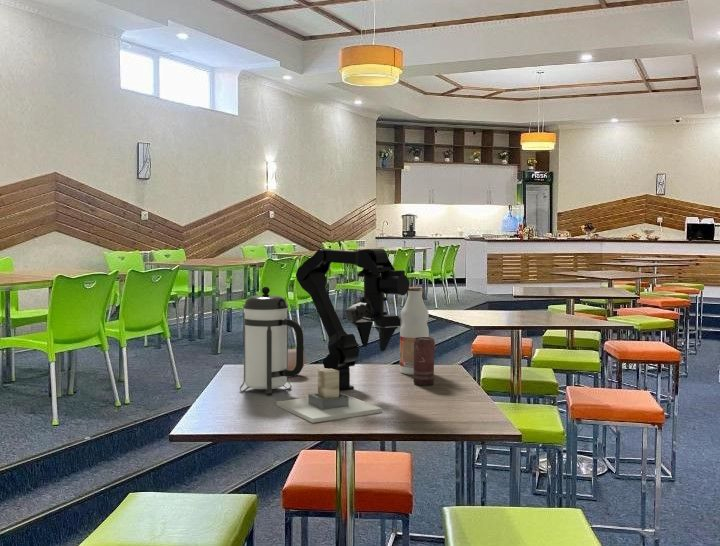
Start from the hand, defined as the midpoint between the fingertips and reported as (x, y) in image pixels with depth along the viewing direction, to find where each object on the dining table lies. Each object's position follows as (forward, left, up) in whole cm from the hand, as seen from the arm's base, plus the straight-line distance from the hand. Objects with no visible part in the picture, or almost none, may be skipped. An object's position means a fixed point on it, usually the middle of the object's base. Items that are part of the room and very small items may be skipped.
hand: (373, 348), depth 199 cm
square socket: (+8, -19, -13) cm, 24 cm away
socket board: (+8, -19, -13) cm, 24 cm away
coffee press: (-19, -23, -13) cm, 33 cm away
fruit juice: (-20, +29, -13) cm, 38 cm away
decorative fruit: (-35, -8, -13) cm, 38 cm away
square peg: (+8, -19, -12) cm, 24 cm away
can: (-4, +21, -13) cm, 25 cm away
